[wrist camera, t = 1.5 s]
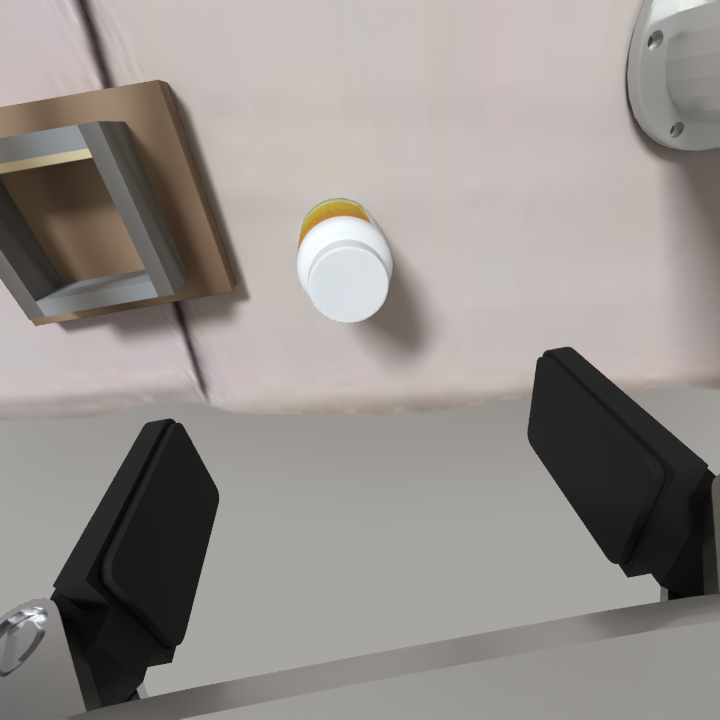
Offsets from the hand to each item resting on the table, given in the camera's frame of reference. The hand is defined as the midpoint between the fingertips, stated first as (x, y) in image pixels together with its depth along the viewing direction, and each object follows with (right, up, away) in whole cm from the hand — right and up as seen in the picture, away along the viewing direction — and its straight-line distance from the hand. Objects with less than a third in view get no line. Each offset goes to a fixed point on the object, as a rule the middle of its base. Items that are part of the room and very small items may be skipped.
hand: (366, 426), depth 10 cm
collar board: (-17, +11, +14) cm, 25 cm away
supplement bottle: (-2, +11, +17) cm, 20 cm away
